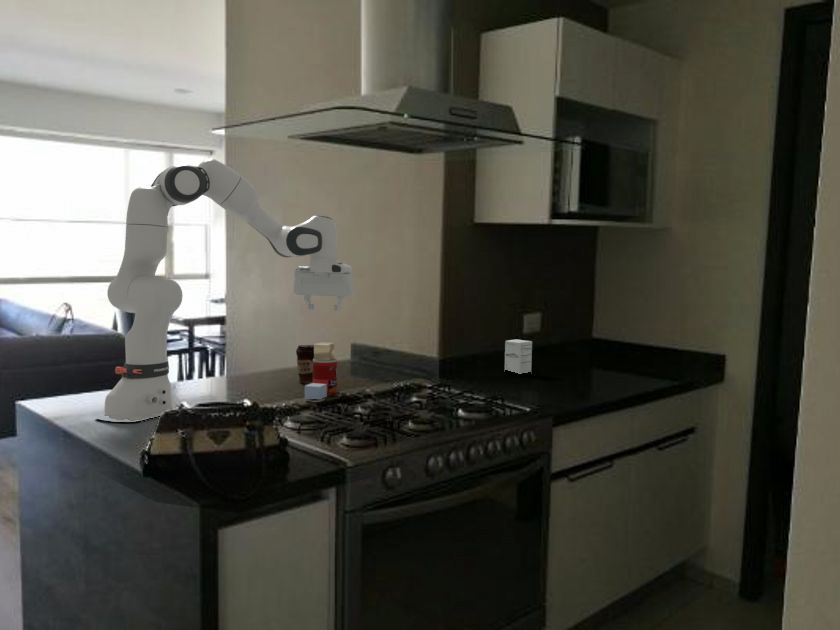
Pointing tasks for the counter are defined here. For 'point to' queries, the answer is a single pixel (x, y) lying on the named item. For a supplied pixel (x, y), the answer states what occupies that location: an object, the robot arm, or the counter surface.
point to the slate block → (315, 391)
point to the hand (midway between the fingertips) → (324, 309)
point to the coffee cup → (305, 363)
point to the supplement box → (518, 356)
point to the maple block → (324, 351)
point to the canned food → (326, 374)
